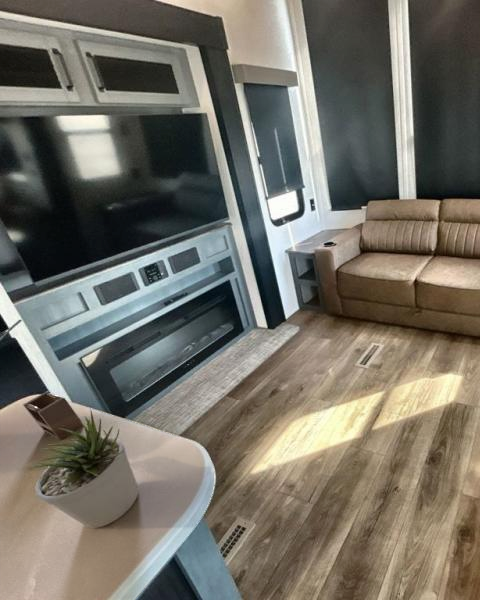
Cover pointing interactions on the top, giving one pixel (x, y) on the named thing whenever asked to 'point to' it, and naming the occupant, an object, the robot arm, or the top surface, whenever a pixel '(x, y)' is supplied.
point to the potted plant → (89, 478)
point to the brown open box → (53, 415)
